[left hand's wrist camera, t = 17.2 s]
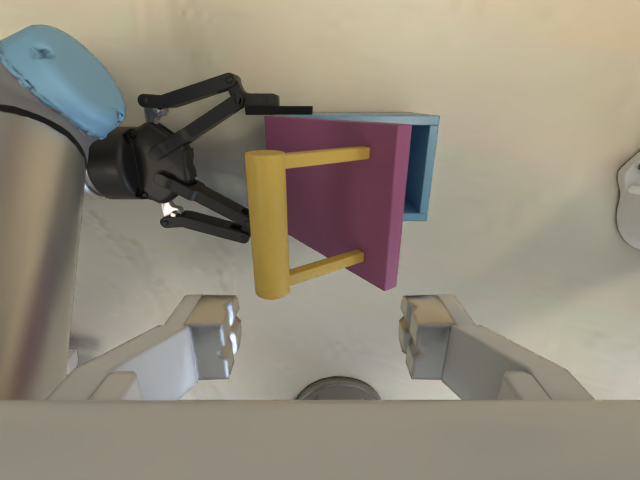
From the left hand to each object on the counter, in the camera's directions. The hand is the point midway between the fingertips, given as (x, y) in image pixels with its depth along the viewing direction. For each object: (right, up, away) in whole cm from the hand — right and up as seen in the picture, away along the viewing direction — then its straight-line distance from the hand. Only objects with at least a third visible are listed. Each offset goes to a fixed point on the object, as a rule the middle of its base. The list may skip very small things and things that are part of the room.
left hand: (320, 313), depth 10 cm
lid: (+1, +6, +16) cm, 17 cm away
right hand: (-1, +10, +26) cm, 28 cm away
